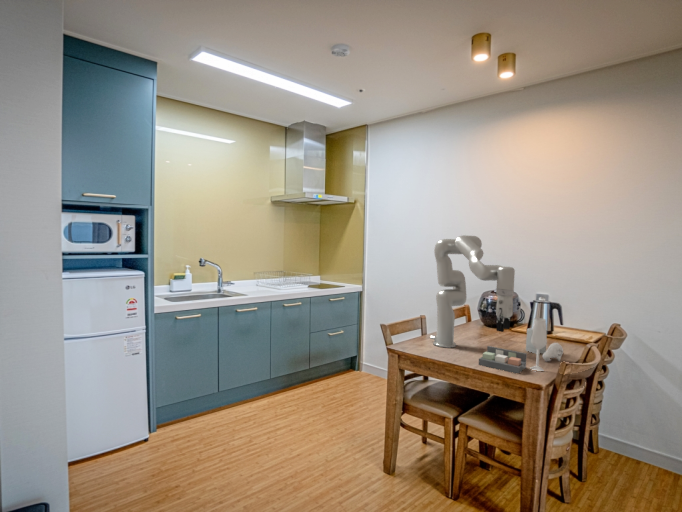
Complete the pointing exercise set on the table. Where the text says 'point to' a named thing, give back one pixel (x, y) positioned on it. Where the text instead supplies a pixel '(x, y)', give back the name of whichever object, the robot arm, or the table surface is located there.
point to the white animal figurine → (553, 352)
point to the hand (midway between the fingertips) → (503, 329)
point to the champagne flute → (538, 339)
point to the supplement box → (529, 345)
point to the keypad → (505, 365)
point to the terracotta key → (514, 361)
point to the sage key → (488, 355)
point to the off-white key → (501, 358)
